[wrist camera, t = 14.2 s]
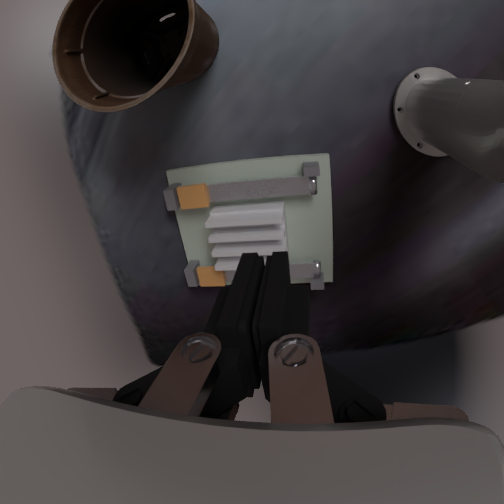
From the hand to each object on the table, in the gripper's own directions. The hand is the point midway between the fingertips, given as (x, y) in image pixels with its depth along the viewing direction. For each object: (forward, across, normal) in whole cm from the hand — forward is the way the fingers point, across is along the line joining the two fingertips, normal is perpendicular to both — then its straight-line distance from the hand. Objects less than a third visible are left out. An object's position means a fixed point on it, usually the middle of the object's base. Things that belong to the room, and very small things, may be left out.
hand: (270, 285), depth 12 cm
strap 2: (+30, +7, +18) cm, 36 cm away
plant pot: (+32, +14, -16) cm, 39 cm away
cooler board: (+32, +7, +12) cm, 35 cm away
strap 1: (+30, +7, +6) cm, 31 cm away
